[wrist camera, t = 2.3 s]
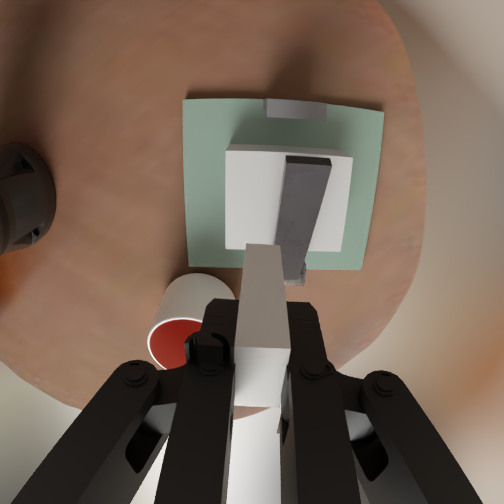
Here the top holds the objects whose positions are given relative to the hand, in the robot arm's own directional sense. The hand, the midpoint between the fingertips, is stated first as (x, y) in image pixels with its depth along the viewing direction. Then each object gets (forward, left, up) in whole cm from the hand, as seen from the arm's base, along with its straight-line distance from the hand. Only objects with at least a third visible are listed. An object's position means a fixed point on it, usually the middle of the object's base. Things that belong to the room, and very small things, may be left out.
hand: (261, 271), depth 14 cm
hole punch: (+3, -2, -23) cm, 23 cm away
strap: (+3, -3, -12) cm, 13 cm away
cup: (-7, -18, -23) cm, 30 cm away
